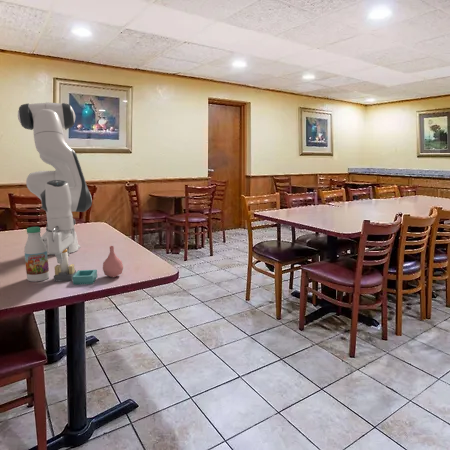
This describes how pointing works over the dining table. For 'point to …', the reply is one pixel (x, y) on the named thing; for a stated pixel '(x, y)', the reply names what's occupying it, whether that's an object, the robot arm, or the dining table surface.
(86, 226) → the dining table surface
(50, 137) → the robot arm
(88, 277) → the tray
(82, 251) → the dining table surface
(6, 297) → the dining table surface
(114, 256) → the pink bulb-shaped piece
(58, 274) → the clip block
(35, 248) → the milk bottle
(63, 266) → the fuse
